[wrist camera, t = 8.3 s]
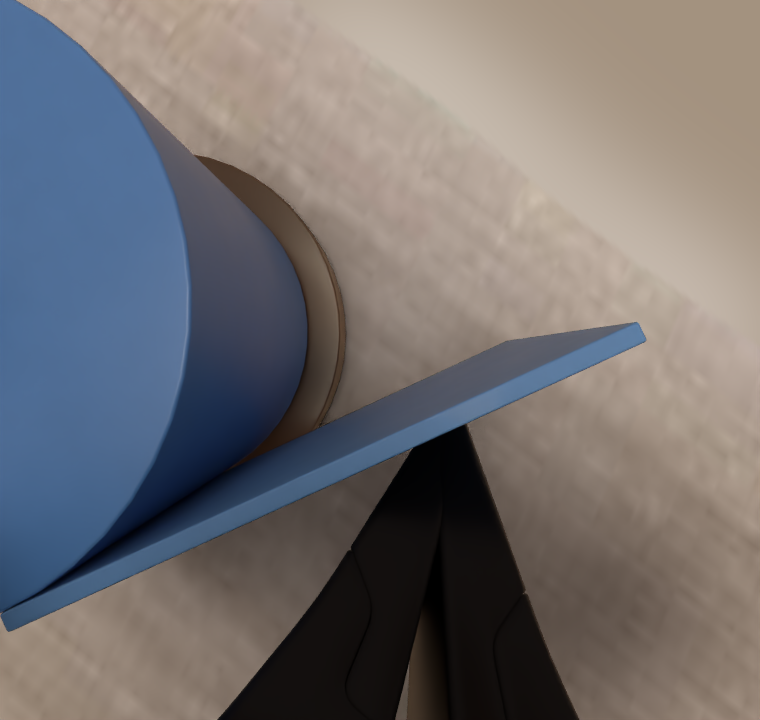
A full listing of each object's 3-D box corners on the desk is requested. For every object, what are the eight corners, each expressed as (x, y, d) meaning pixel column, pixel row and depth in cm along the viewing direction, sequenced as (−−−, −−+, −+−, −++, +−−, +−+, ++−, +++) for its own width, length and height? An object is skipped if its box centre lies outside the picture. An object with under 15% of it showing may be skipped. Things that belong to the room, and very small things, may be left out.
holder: (319, 524, 16) (311, 541, 15) (3, 470, 17) (-36, 482, 15) (369, 193, 16) (365, 176, 15) (47, 149, 17) (12, 129, 15)
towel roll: (507, 349, 14) (729, 336, 5) (88, 543, 15) (-475, 881, 5) (368, 54, 14) (303, -556, 5) (-42, 260, 15) (-821, 91, 5)
